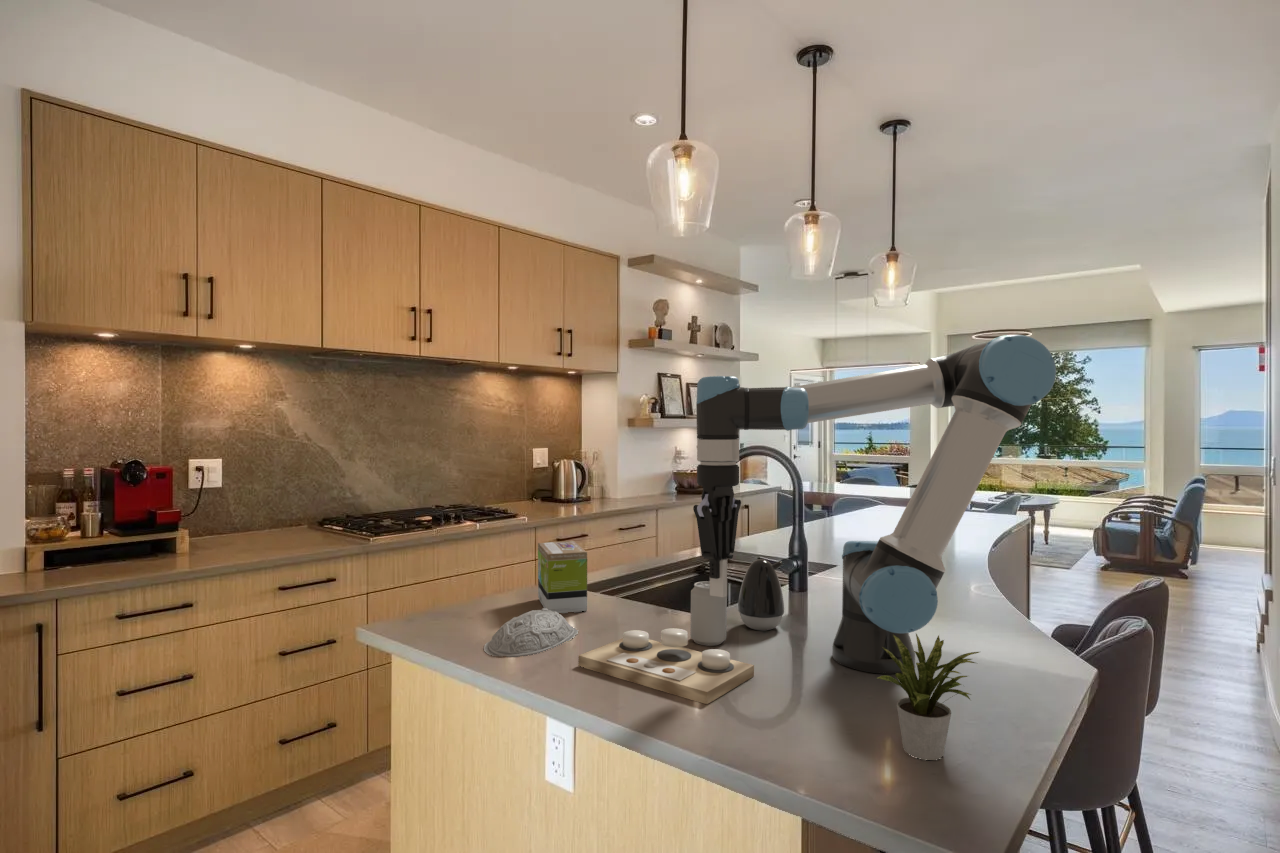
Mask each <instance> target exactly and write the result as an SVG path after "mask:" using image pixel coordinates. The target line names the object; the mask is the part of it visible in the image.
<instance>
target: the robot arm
mask: <svg viewBox="0 0 1280 853" xmlns="http://www.w3.org/2000/svg"><path fill="white" fill-rule="evenodd" d="M1055 362H1056V361H1055V360H1054V358H1053V355H1052V353H1051V352H1050V350H1049V349H1048V348H1047V347H1046V345H1045V344H1044V343H1042V342H1041V341H1039V340H1038V339H1036V338H1034V337H1031V336H1027V335H1023V334H1005V335H1000V336H997V337H994V338H992V339H991V340H988V341H984V342H981V343H977V344H974V345H971V346H969V347H967V348H964V349H961V350H958V351H956V352H953V353H950V354H945V355H943V356H942V355H941V356H937V357H931V358H928V359H927V360H926V362H925V363H924V364H922V365H921V364H920V365H915V366H907V367H903V368H897V369H891V370H885V371H878V372H873V373H867V374H861V375H855V376H848V377H842V378H838V379H831V380H825V381H824V380H823V381H819V382H814V383H813V382H812V383H807V384H800V385H796V386H794V385H793V386H779V387H777V386H776V387H772V386H771V387H750V388H749V387H741V385H740V380H739V378H738V377H737V376H732V375H731V376H730V375H729V376H726V375H725V376H724V375H717V376H715V375H713V376H703V377H701V378H700V379H699V380H698V381H697V384H696V386H697V387H696V402H695V404H696V406H695V407H696V411H695V412H696V439H697V440H696V461H697V462H699V464H697V466H696V484H697V485H698V486H701V487H702V493H701V501H700V503H699V504H694V505H693V509H692V510H693V514H694V515H695V517H696V525H697V530H698V531H697V532H698V537H699V546H700V553H701V557H702V558H703V559H705V560H708V561H709V563H708V564H709V565H708V566H709V572H708V573H709V574H708V575H709V581H710V595H711V596H717V597H725V596H727V597H728V559H733V557H734V555H733V554H734V552H735V546H736V538H737V532H738V531H737V530H738V522H739V521H738V519H739V512H740V509H741V506H742V500H741V499H736V498H735V492H734V487H737V486H739V484H740V466H739V465H738V464H737V462H739V461H740V435H739V434H740V430H741V431H742V430H745V431H748V430H751V431H752V430H760V431H761V430H762V431H772V430H773V431H788V432H789V431H793V430H794V431H795V430H804V429H805V428H807V425H808V424H809V423H810V424H811V423H816V422H825V421H830V420H836V419H842V418H844V419H845V418H850V417H857V416H863V415H867V414H868V415H869V414H875V413H882V412H888V411H894V410H901V409H907V408H913V407H915V408H916V407H920V406H921V407H922V406H926V405H927V406H928V405H931V406H933V407H934V408H936V409H941V408H948V407H954V413H953V415H952V417H951V419H950V420H949V422H948V425H947V426H946V428H945V430H944V432H943V434H942V436H941V438H940V440H939V442H938V444H937V445H936V447H935V450H934V452H933V454H932V455H931V458H930V459H929V462H928V463H927V466H925V469H924V472H923V473H922V475H921V478H920V480H919V481H918V483H917V486H916V487H915V488H914V491H913V494H912V495H911V496H910V499H909V501H908V502H907V504H906V507H905V509H904V510H903V512H902V514H901V517H900V518H899V520H898V522H897V524H896V527H895V528H894V530H893V532H892V533H890V534H888V535H884V536H880V537H879V539H878V541H877V540H848V541H846V542H845V543H844V544H843V548H842V549H843V550H842V555H841V560H842V595H841V596H842V599H841V600H842V606H841V608H842V609H841V616H842V617H841V620H840V622H839V625H838V628H837V631H836V633H835V637H834V639H833V643H832V645H831V646H832V650H831V653H832V655H831V657H832V659H833V660H834V661H835V662H837V664H838V663H839V664H840V665H842V666H844V667H846V668H849V669H853V670H857V671H860V672H861V671H862V672H866V673H873V674H884V675H885V674H886V675H888V674H896V673H901V674H903V673H902V671H901V669H900V668H899V666H898V665H897V664H896V663H895V662H894V660H893V659H892V658H891V656H890V655H889V654H888V653H887V652H886V651H885V650H884V649H883V648H885V649H887V650H888V651H890V652H891V653H892V654H893V655H894V656H895V657H896V658H897V659H898V660H900V662H901V663H902V664H903V661H902V657H901V653H900V651H899V648H898V645H897V643H896V640H895V638H894V636H896V637H898V638H899V639H900V640H901V642H902V643H903V644H904V645H905V646H906V648H907V649H908V650H909V653H910V655H911V658H912V661H913V664H914V666H915V667H916V653H915V652H913V651H915V649H914V647H913V643H912V638H911V636H910V633H913V632H916V631H918V630H920V629H923V628H924V627H925V626H926V625H928V624H929V623H930V622H931V621H932V620H933V617H934V616H935V614H936V611H937V609H938V605H939V604H938V602H939V601H938V600H939V599H938V591H937V588H938V585H939V584H940V582H941V581H942V578H943V577H944V574H945V572H946V569H945V566H944V563H943V560H942V556H943V555H944V552H945V551H946V549H947V547H948V545H949V543H950V541H951V539H952V537H953V536H954V533H955V532H956V530H957V528H958V526H959V523H960V521H961V520H962V518H963V517H964V514H965V512H966V510H967V508H968V506H969V504H970V502H971V500H972V499H973V497H974V495H975V493H976V491H977V489H978V487H979V485H980V483H981V481H982V479H983V477H984V475H985V473H986V471H987V469H988V468H989V466H990V464H991V462H992V459H993V458H994V456H995V454H996V452H997V450H998V448H999V446H1000V444H1001V442H1002V440H1003V438H1005V437H1004V436H1005V435H1006V433H1007V432H1008V431H1010V430H1013V429H1016V428H1019V427H1021V425H1022V423H1023V422H1024V420H1025V418H1026V417H1027V414H1028V412H1029V410H1030V408H1031V406H1032V404H1036V403H1037V402H1039V401H1041V400H1042V399H1044V398H1045V397H1046V396H1047V395H1048V394H1049V393H1050V392H1051V391H1052V388H1053V386H1054V384H1055V381H1056V378H1057V376H1056V375H1057V367H1056V363H1055ZM893 635H894V636H893Z"/></svg>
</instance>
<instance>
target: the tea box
mask: <svg viewBox="0 0 1280 853" xmlns="http://www.w3.org/2000/svg"><path fill="white" fill-rule="evenodd" d="M537 595H538V597H537V598H538V600H539V602H540V604H541V605H542V607H543V608H547V609H548V610H551V611H556V612H558V613H562V614H569V613H568V612H574V613H583V612H582V611H584V612H587V611H588V552H587V551H586V550H585V549H584V548H583V547H582V546H580V544H578V543H577V542H576V541H575V540H569V541H550V542H538V543H537Z"/></svg>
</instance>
